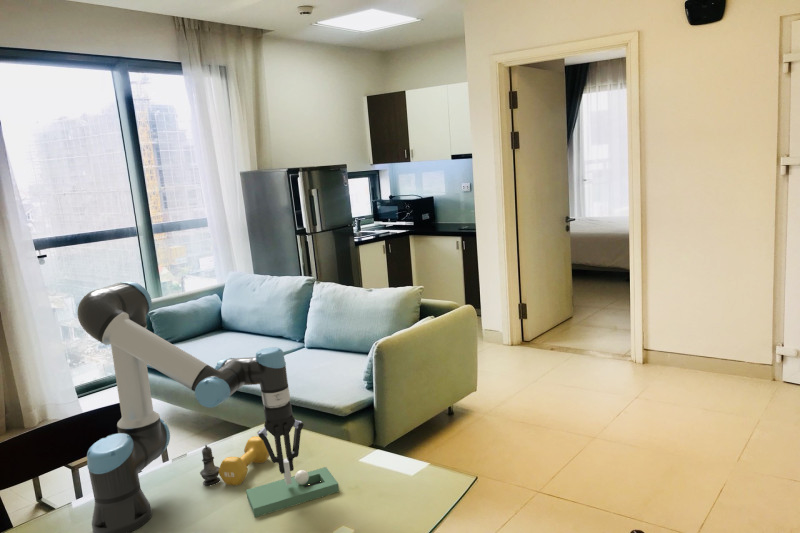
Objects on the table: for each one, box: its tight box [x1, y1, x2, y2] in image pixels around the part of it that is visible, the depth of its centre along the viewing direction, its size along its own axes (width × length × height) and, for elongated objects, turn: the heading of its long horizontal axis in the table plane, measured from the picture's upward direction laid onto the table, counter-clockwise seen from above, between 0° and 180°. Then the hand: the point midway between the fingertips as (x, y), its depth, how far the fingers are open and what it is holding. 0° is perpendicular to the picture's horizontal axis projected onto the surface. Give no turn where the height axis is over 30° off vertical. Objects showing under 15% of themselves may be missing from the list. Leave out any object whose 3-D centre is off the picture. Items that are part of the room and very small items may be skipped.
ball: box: [294, 469, 309, 485], centre depth 177 cm, size 4×4×4 cm
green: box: [245, 466, 340, 518], centre depth 176 cm, size 24×12×2 cm, turn 114°
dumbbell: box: [218, 435, 270, 486], centre depth 193 cm, size 19×9×8 cm, turn 162°
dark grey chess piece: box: [199, 444, 221, 487], centre depth 189 cm, size 6×6×12 cm
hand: (288, 482), depth 175 cm, fingers closed
